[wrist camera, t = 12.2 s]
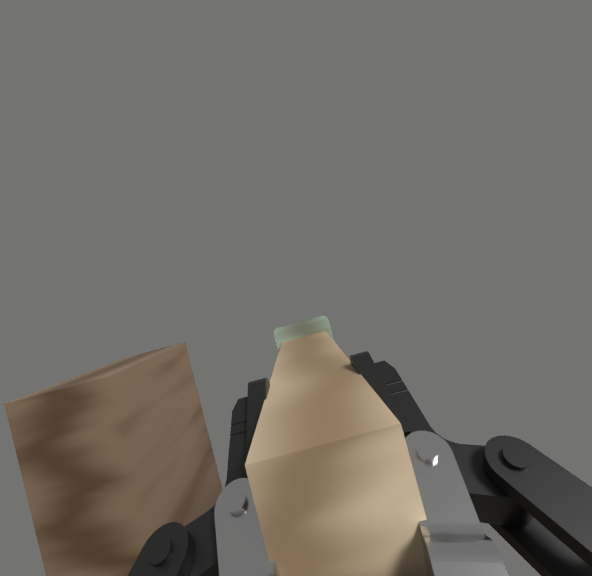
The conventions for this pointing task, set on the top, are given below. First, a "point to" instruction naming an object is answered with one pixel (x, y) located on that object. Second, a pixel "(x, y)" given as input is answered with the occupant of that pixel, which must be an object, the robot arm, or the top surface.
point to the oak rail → (332, 467)
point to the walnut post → (113, 460)
